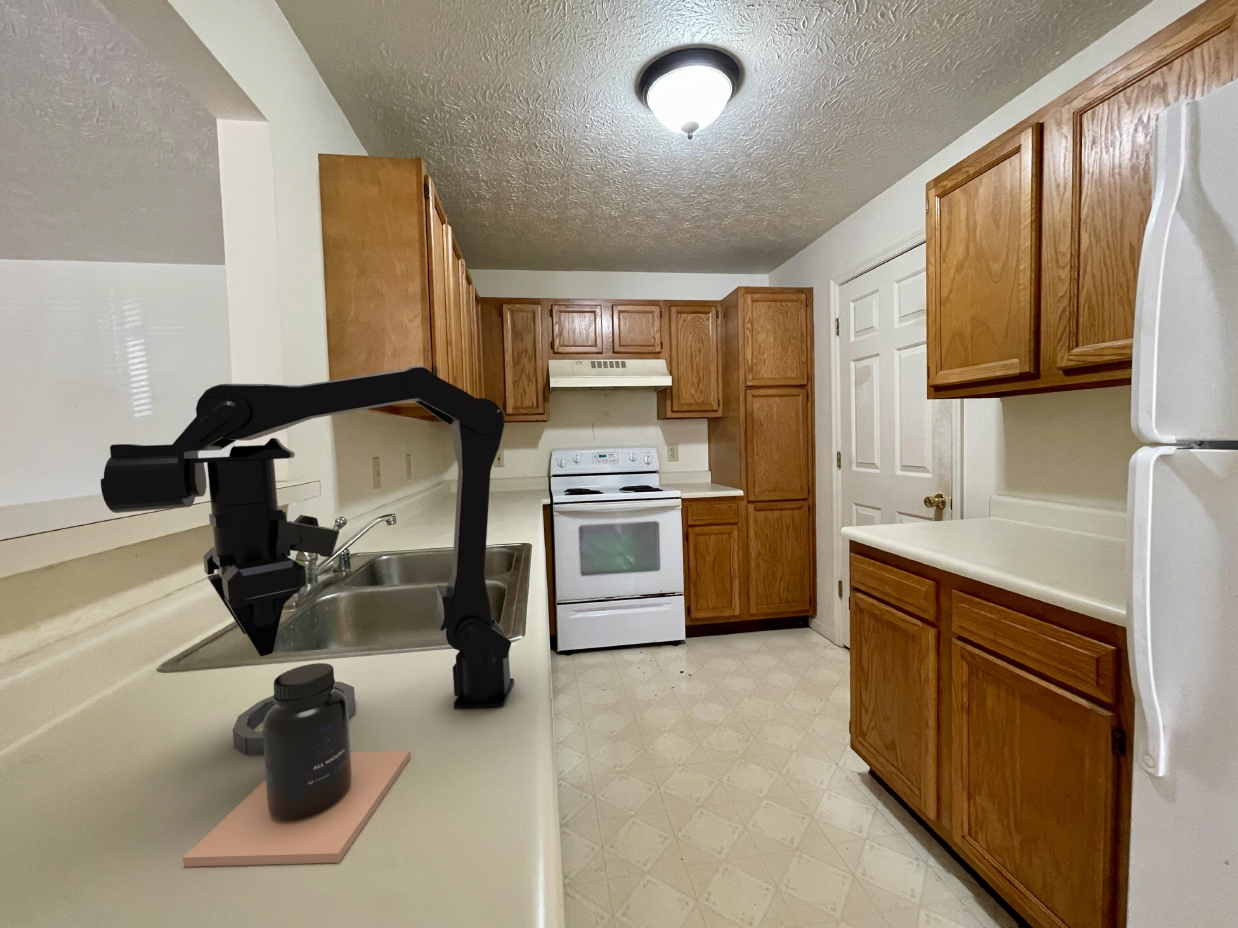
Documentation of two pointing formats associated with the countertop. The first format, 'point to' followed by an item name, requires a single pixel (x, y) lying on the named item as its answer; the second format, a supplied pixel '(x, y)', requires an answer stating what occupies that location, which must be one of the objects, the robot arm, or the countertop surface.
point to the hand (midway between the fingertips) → (257, 643)
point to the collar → (252, 717)
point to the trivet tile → (300, 822)
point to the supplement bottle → (306, 743)
